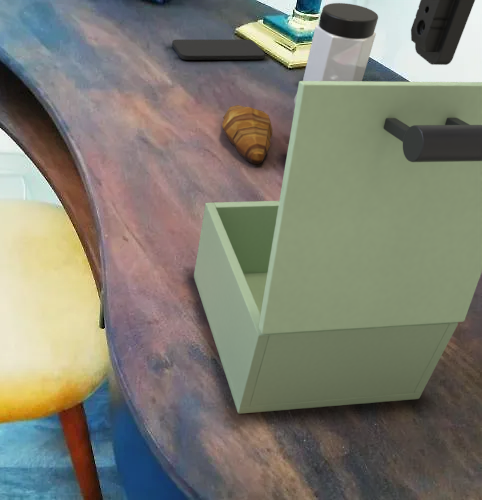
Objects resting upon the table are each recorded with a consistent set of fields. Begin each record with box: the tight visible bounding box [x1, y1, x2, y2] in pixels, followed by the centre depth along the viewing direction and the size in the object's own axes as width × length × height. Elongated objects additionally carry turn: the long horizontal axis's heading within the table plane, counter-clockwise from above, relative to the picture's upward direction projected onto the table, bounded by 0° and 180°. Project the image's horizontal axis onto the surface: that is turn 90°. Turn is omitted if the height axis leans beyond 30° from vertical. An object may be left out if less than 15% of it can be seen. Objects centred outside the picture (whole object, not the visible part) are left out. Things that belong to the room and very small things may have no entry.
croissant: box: [221, 104, 273, 165], centre depth 85 cm, size 14×7×5 cm, turn 7°
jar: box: [302, 2, 379, 81], centre depth 99 cm, size 9×8×12 cm
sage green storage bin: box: [193, 200, 459, 415], centre depth 56 cm, size 17×16×9 cm
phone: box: [171, 39, 265, 61], centre depth 110 cm, size 7×1×15 cm
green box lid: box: [259, 80, 482, 334], centre depth 40 cm, size 17×16×5 cm
